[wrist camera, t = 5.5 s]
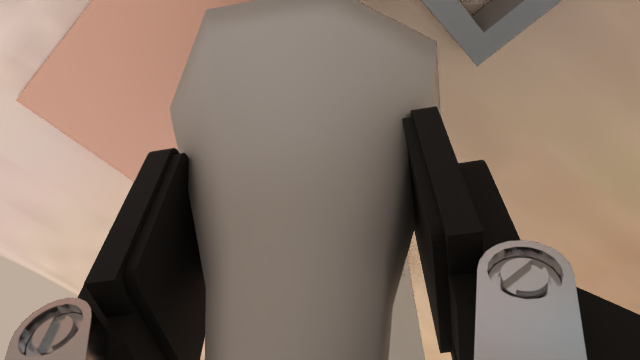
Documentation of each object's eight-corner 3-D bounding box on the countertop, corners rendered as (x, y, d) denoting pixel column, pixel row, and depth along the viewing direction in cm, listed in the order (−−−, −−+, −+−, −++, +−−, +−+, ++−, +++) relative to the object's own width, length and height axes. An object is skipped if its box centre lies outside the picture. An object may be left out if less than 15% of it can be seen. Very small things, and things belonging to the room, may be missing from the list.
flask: (175, 209, 16) (21, 634, 8) (167, -41, 12) (-185, 326, 4) (408, 234, 16) (490, 656, 8) (482, 5, 12) (792, 413, 4)
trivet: (369, 100, 30) (370, 105, 29) (213, 229, 36) (212, 235, 35) (168, -97, 24) (165, -95, 24) (20, 95, 30) (15, 100, 29)
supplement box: (307, 207, 35) (300, 379, 24) (407, 239, 36) (440, 413, 26) (270, 280, 39) (251, 453, 28) (362, 305, 40) (375, 478, 30)
